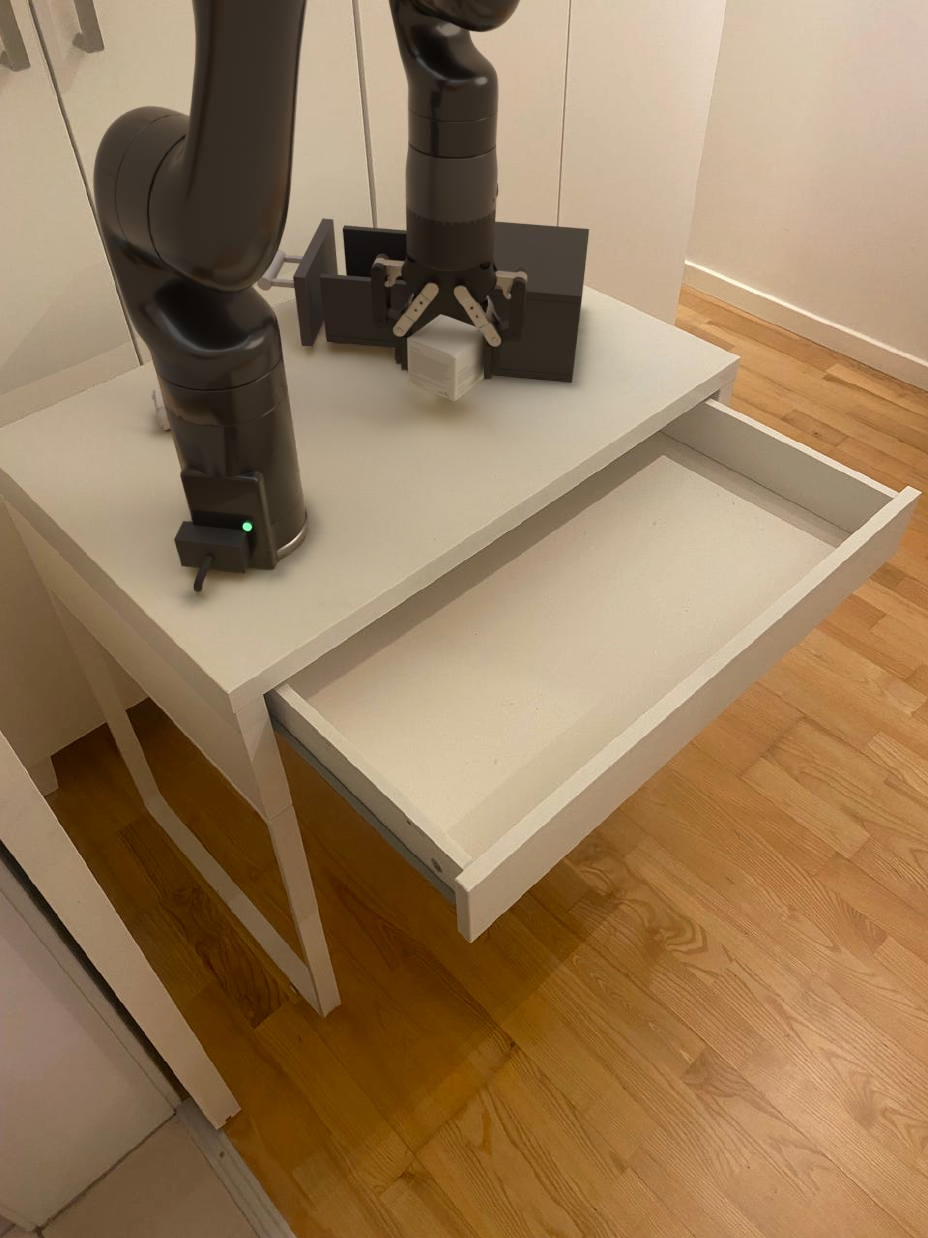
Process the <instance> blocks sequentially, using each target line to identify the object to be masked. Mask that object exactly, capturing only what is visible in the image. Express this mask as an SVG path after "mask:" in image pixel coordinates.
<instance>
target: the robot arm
mask: <svg viewBox="0 0 928 1238" xmlns="http://www.w3.org/2000/svg"><path fill="white" fill-rule="evenodd" d="M520 2H521V0H388V4H389V10H390V13H391V14H390V15H391V19H392V24H393V28H394V33H395V38H396V42H397V43H396V44H397V47H398V52H399V55H400V60H401V63H402V66H403V69H404V74H405V78H406V82H407V83H406V84H407V139H408V140H407V152H406V153H407V154H406V159H405V224H406V225H405V230H406V238H407V256H406V259H405V260H404V261H395V260H389V258H388V256H387V255H385V254H379V255H378V256H377V257H376V260H375V262H374V264H373V266H372V269H371V289H372V306H373V322H374V325H375V326H376V327H378V328H384V327H385V328H387V329H390V330H391V331H392V332H393V334H394V348H393V349H394V361H395V363H396V364H397V365H398V364H399V365H401V368H400V369H401V371H408V351H407V338H409V337H410V336H411V335H412V324H413V323H414V322H416V320H417V319H418V318H419V317H420V315H421V314H422V313H423V311H424V310H425V309H427V310H429V311H430V314H445V313H449V314H451V315H454V316H460V317H465V314H468V315H469V317H470V318H471V320H472V321H473V323H474V324H475V326H476V327H477V328H478V329H480V330H481V332H482V333H483V335H484V336H485V338H486V340H487V341H486V345H485V360H484V378H483V380H489V381H490V380H492V377H493V375H492V374H497V373H498V371H499V368H500V364H501V352H502V344H503V343H504V342H506V341H511V342H518V341H520V339H521V335H522V328H523V325H524V316H525V305H526V295H527V284H528V271H527V270H526V269H525V268H518V269H517V270H516V271H515V272H507V271H498V269H497V267H496V265H495V263H494V258H493V255H494V236H495V221H496V216H497V200H498V196H499V183H498V177H499V176H498V175H499V170H498V169H499V168H498V167H499V166H498V155H497V154H498V153H497V138H498V137H497V135H498V116H499V96H500V95H499V93H500V88H499V85H500V84H499V77H498V74H497V70H496V68H495V67H494V65H493V64H492V62H491V61H489V60H488V58H486V57H485V56H484V54H482V53H481V51H480V50H479V49H478V48H477V46H476V45H475V44H474V42H473V39H472V37H471V36H472V35H471V32H472V33H473V32H474V33H488V32H492V31H494V30H497V29H500V28H501V27H502V26H504V25H505V24H506V23H507V22H508V21H509V20H510V19H511V18H512V17H513V15H514V14H515V12H516V10H517V9H518V6H519V5H520ZM191 5H192V12H193V21H194V22H193V23H194V37H195V38H194V41H195V42H194V43H195V45H194V46H195V47H194V48H195V50H194V69H193V76H192V77H193V78H192V89H191V99H190V100H191V101H190V108H189V115H188V114H185V113H183V112H180V111H178V110H174V109H171V108H169V107H163V106H156V105H145V106H140V107H137V108H136V107H135V108H132V109H131V110H128V111H126V112H124V113H122V114H120V115H119V116H118V117H117V118H116V119H115V120H114V121H113V122H112V123H110V125H109V127H108V128H107V129H106V131H105V132H104V134H103V136H102V138H101V140H100V142H99V145H98V146H97V150H96V153H95V158H94V164H93V172H92V190H93V200H94V205H95V206H94V207H95V211H96V212H95V213H96V216H97V219H98V220H97V221H98V224H99V229H100V232H101V235H102V239H103V241H104V245H105V247H106V248H105V249H106V251H107V254H108V257H109V261H110V264H111V268H112V270H113V273H114V275H115V279H116V282H117V285H118V289H119V292H120V295H121V298H122V301H123V304H124V308H125V309H126V313H127V315H128V317H129V320H130V322H131V324H132V326H133V328H134V329H135V331H136V333H137V334H138V335H139V337H140V338H141V340H142V341H143V343H144V344H145V345H146V347H147V348H148V351H149V353H150V356H151V359H152V363H153V366H154V371H155V374H156V378H157V382H158V386H159V388H160V390H161V394H162V398H163V402H164V406H165V410H166V414H167V418H168V422H169V425H170V429H169V430H170V433H171V436H172V437H171V438H172V440H173V444H174V449H175V452H176V457H177V460H178V464H179V467H180V473H179V477H180V480H181V484H182V489H183V493H184V496H185V500H186V504H187V508H188V511H189V515H190V519H191V521H189V520H183V521H182V523H181V524H180V526H179V528H178V531H177V532H176V535H175V536H174V539H173V541H174V544H175V545H174V546H175V548H176V551H177V552H176V553H177V555H178V559H179V562H180V566H181V567H186V568H194V569H198V570H197V573H196V575H195V578H194V581H193V591H194V592H196V593H201V592H202V591H203V585H204V582H205V579H206V577H207V574H208V572H209V571H210V570H212V571H221V572H229V573H238V574H246V573H247V569H248V567H250V568H258V569H259V568H260V569H267V570H268V569H269V570H273V569H275V567H276V565H277V563H278V561H279V560H280V559H282V558H284V557H286V556H288V555H289V554H291V553H292V552H293V551H295V550H296V549H297V548H298V547H299V546H300V545H301V544H302V542H303V541H304V540H305V538H306V536H307V533H308V530H309V517H308V512H307V511H308V510H307V507H306V505H305V498H304V492H303V485H302V477H301V471H300V465H299V458H298V450H297V444H296V437H295V429H294V423H293V416H292V415H293V414H292V408H291V403H290V401H291V400H290V396H289V389H288V380H287V372H286V366H285V365H286V364H285V358H284V352H283V351H284V350H283V343H282V335H281V330H280V325H279V321H278V317H277V315H276V313H275V311H274V310H273V308H272V306H271V305H270V304H269V302H268V301H267V299H265V297H263V295H262V294H260V292H258V290H256V288H255V287H254V285H255V284H257V281H258V280H259V279H260V278H261V277H262V276H263V275H264V274H265V272H266V271H267V269H268V268H269V267H270V265H271V263H272V261H273V259H274V257H275V255H276V253H277V251H278V249H279V248H280V246H281V242H282V238H283V236H284V232H285V229H286V225H287V219H288V214H289V209H290V208H289V207H290V201H291V199H290V198H291V191H292V179H293V178H292V177H293V166H294V154H295V153H294V151H295V135H296V121H297V106H298V105H297V104H298V93H299V92H298V90H299V79H300V78H299V77H300V65H301V55H302V47H303V46H302V45H303V38H304V28H305V20H306V14H307V6H308V0H191ZM398 276H402V278H403V279H404V281H405V282H406V284H407V285H408V286H409V288H410V289H411V291H412V292H413V293H412V295H411V296H410V298H409V300H408V302H407V303H406V304H405V306H404V307H403V308H402V310H401V311H400V312H398V311H396V310H393V309H391V286H393V285H394V284H395V281H396V279H397V277H398ZM496 285H498V286H500V287H501V288H502V290H503V295H504V296H505V297H506V298H507V299H511V304H510V316H509V321H506V322H502V321H501V320H500V318H499V316H498V315H497V313H496V311H495V310H494V305H493V303H492V301H491V299H490V298H489V296H488V294H489V293H490V292H491V291H492V290H493V289H494V288H495V286H496Z"/></svg>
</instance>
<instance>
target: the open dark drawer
mask: <svg viewBox="0 0 928 1238" xmlns="http://www.w3.org/2000/svg"><path fill="white" fill-rule="evenodd" d="M342 238H343V251H344V252H343V253H344V261H345V274H344V275H343V274H339V269H338V259H337V258H338V257H337V247H336V234H335V223H334V219H333V218H322V219H321V221H320V223H319V224H318V227H317V229H316V230H315V232H314V234H313V235H312V239H311V240H310V242H309V244H308V246H307V248H306V250H305V252H304V254H303V255H292V254H290V255H289V254H286V253H285V251H283V250H282V249H278V251H277V253H276V255H275V257H274V259H273V261H272V263H271V265H270V267H269V268H268V269H267V271H266V272H265V274H264V275H263V276H262V277H261V278H260V279H259V280H258V281H257V282H256V284H257V287H258V288H259V289H260V290H261V291H265V292H267V291H270V290H271V289H272V287H277V288H287V289H294V296H295V304H296V311H297V313H296V314H297V319H298V328H299V329H298V330H299V336H300V345H301V347H307V348H313V347H314V345H315V343H316V341H317V339H318V336H319V334H320V332H321V329H322V327H323V324H324V331H325V341H326V343H332V344H343V345H353V346H363V347H374V348H385V349H394V334H393V332H392V331H391V330H390V329H387V328H385V327H384V328H378V327H376V326H375V325H374V322H373V306H372V289H371V269H372V266H373V264H374V262H375V260H376V257H377V256H378V255H379V254H385V255H387V256H388V258H389V260H395V261H404V260H405V259H406V256H407V238H406V229H396V228H395V229H393V228H384V227H383V228H381V227H372V226H371V227H369V226H358V225H343V227H342ZM285 263H287V264H288V263H289V264H298V266H297V268H296V270H295V272H294V273H293V276H292V279H287V278H284V279H283V278H277V277H278V276H279V273H280V272H281V269H282V267H283V266H284V264H285ZM409 289H410V288H409V286H408V285H407V284H406V282H405V281H404V279H403V278H402V276H398V277H397V279H396V281H395V284H394V285H393V286H391V309H393V310H396V311H398V312H400V311H401V310H402V308H403V307H404V306H405V304H406V303H407V302H408V300H409V298H410V293H409Z"/></svg>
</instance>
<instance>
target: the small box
mask: <svg viewBox="0 0 928 1238" xmlns="http://www.w3.org/2000/svg"><path fill="white" fill-rule="evenodd" d="M486 341H487V340H486V338H485V336H484V335H483V333H482V332H481V330H480V329H478V328H477V327H474V326H472V325H469V324H466V323H464V322H461V321H458V320H456V319H453V318H450V317H447V316H444V315H439V316H438V317H436V318H435V319H434V320H432V321H431V322H430V323H428V324H427V325H425V326H424V327H423V328H421V329H420V330H419V331H417V332H416V333H414V334H413V335H411V336H410V337H409V338H407V351H408V370H407V381H408V383H409V384H411V385H413V386H416V387H417V388H421V389H423V390H425V391H427V392H431V393H433V394H435V395H438V396H440V397H443V398H445V399H447V400H449V401H451V402H456V401H457V400H459V399H460V398H461V397H462V396H464V395H465V394H466V393H467V392H468V391H469V390H471V389H472V388H473V387H474V386H476V385H477V384H478V383H479V382H481V381H482V380H484V360H485V345H486Z"/></svg>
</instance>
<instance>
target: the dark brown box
mask: <svg viewBox="0 0 928 1238" xmlns="http://www.w3.org/2000/svg"><path fill="white" fill-rule="evenodd" d="M589 236H590V228H583V227H582V228H580V227H568V226H558V225H546V224H533V223H532V224H531V223H521V222H509V221H507V222H506V221H496V220H495V236H494V255H493V258H494V263H495V265H496V267H497V269H498V271H507V272H515V271H516V270H517V269H518V268H525V269H526V270H527V271H528V284H527V295H526V305H525V316H524V325H523V328H522V335H521V339H520V341H518V342H511V341H506V342H504V343H503V344H502V352H501V364H500V368H499V371H498V373H497V374H492V376H503V377H511V378H512V377H513V378H524V379H533V380H534V379H535V380H545V381H546V380H547V381H554V382H555V381H556V382H568V383H572V382H573V379H574V378H573V377H574V369H575V361H576V360H575V359H576V352H577V345H578V343H577V342H578V333H579V326H580V317H581V310H582V300H583V292H584V282H585V272H586V264H587V254H588V244H589ZM409 293H410V296H411V295H412V293H413V292H412V291H411V289H409ZM488 296H489V298H490V299H491V301H492V303H493V305H494V310H495V311H496V313H497V315H498V316H499V318H500V320H501V321H502V322H506V321H509V316H510V304H511V299H507V298H506V297H505V296H504V295H503V290H502V288H501V287H500V286H498V285H496V286H495V288H494V289H493V290H492V291H491V292H490V293H489V294H488ZM439 315H444V316H447V317H450V318H453V319H456V320H458V321H461V322H464V323H466V324H469V325H472V326H474V327H476V326H475V324H474V323H473V321H472V320H471V318H470V317H469V315H468V314H465V317H460V316H454V315H451V314H449V313H445V314H430V311H429V310H427V309H425V310H424V311H423V313H422V314H421V315H420V317H419V318H418V319H417V320H416V322H414V323H413V324H412V335H413V334H414V333H416V332H417V331H419V330H420V329H421V328H423V327H424V326H425V325H427V324H428V323H430V322H431V321H432V320H434V319H435V318H436V317H438V316H439Z"/></svg>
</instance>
